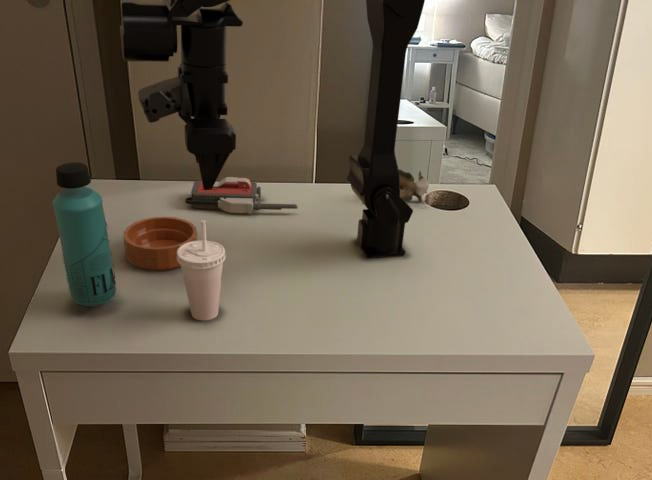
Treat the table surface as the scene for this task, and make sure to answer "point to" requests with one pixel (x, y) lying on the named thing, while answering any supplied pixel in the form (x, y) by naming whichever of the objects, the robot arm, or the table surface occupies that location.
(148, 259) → the bowl
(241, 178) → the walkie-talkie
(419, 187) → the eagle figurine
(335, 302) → the table surface
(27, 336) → the table surface
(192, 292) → the smoothie
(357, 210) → the table surface
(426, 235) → the table surface
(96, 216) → the beverage bottle
